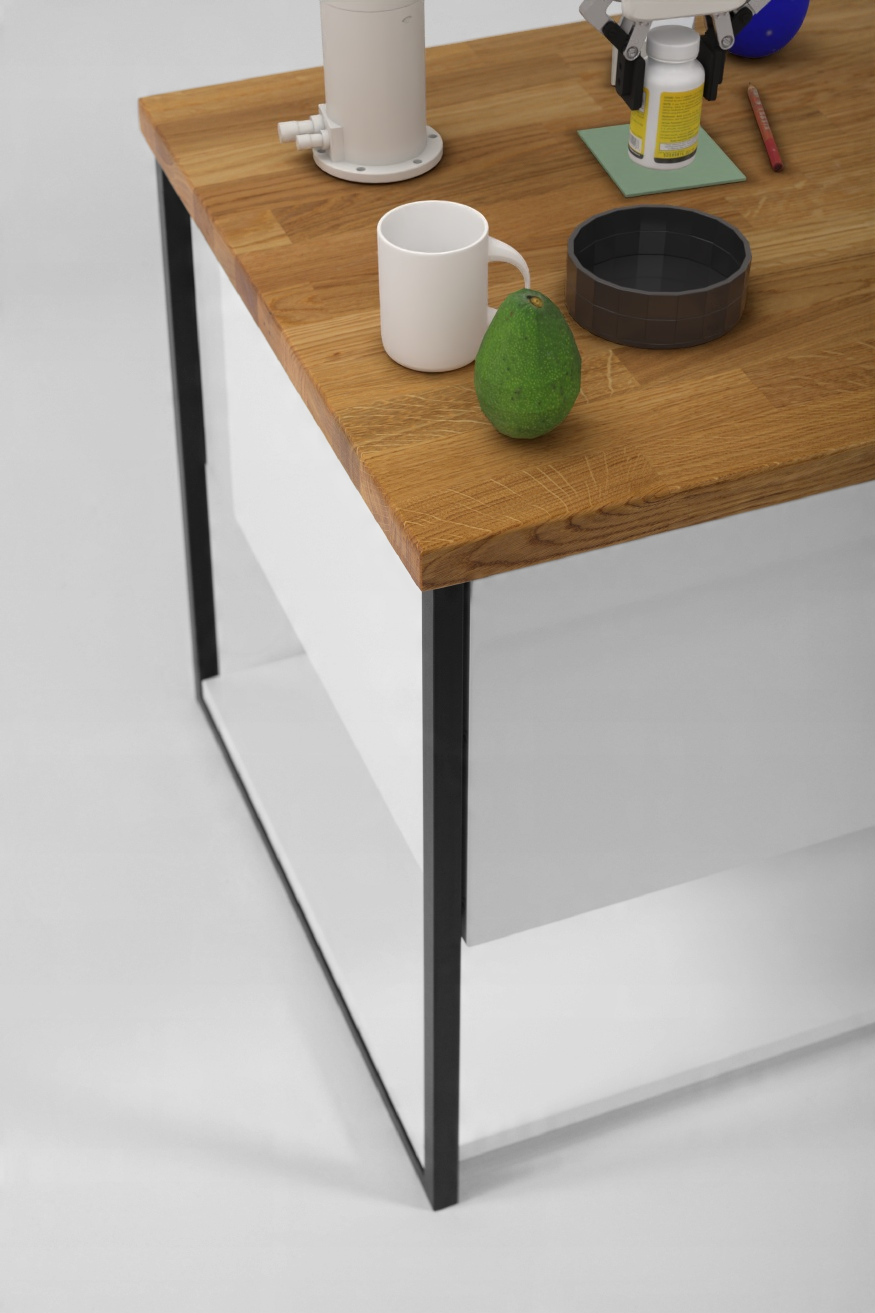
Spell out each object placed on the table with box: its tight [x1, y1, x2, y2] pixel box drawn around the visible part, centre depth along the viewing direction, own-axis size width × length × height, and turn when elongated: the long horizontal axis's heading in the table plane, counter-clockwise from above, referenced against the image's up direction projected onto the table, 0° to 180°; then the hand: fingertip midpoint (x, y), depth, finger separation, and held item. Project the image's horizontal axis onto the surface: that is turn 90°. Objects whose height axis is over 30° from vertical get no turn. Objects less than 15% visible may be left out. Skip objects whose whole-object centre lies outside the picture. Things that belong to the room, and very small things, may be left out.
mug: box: [376, 199, 531, 373], centre depth 129 cm, size 9×12×11 cm
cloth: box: [576, 123, 747, 198], centre depth 157 cm, size 12×14×1 cm
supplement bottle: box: [628, 25, 705, 171], centre depth 126 cm, size 5×5×10 cm
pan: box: [564, 203, 753, 350], centre depth 136 cm, size 15×15×5 cm
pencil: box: [746, 82, 784, 172], centre depth 161 cm, size 19×1×1 cm, turn 0°
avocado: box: [473, 287, 583, 440], centre depth 120 cm, size 8×8×12 cm
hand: (667, 95), depth 126 cm, fingers closed on supplement bottle, 5 cm apart
